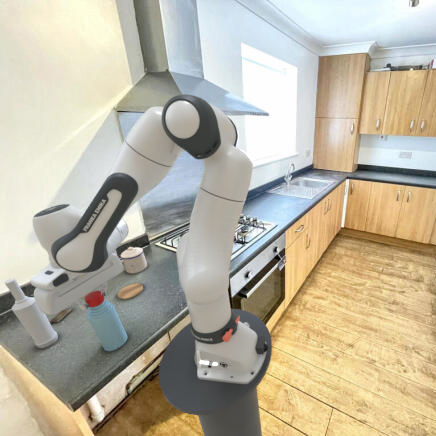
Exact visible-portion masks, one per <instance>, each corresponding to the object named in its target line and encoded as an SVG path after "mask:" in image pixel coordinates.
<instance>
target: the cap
mask: <svg viewBox="0 0 436 436" xmlns="http://www.w3.org/2000/svg"><path fill="white" fill-rule="evenodd" d="M83 299H84V301H85V302H88V304H89V306H90V307H96V306H98V305H100V304H101V303H103V301H104V300H105V296H103V294H102V293H101V291H100V290H93V291H91V292H90V293H88V294H87V295H85V296H84V297H83Z"/></svg>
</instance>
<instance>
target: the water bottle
mask: <svg viewBox="0 0 436 436" xmlns="http://www.w3.org/2000/svg"><path fill="white" fill-rule="evenodd" d="M86 318H87V320H88V322H89V323H90V325H91V328H92V329H93V331H94V333H95V335H96V337H97V339H98V340H99V342H100V344H101V346H102V348H103V349H104V351H106V352H112V351H116V350H118V349H120V348H121V347H122V346H124V344H126V342H127V340H128V334H127V332H126V330H125V327H124V326H123V323H122V321H121V319H120V317H119V314H118V313H117V310H116V308H115V305H114V303H112V302H111V301H108V300H105V299H104V301H103V303H101V304H100V305H98V306H96V307H89V308H87V313H86Z"/></svg>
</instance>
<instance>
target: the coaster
mask: <svg viewBox="0 0 436 436" xmlns="http://www.w3.org/2000/svg"><path fill="white" fill-rule="evenodd" d="M143 290H144V286H143V284H141V283H139V282H137V283H131V284H128V285H125V286H124V287H122V288H121V289H120V290H119V291H118V292H117V298H118V299H119V300H129V299H132V298H135V297H137V296H138V295H140V294H141V293H142V292H143Z"/></svg>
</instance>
